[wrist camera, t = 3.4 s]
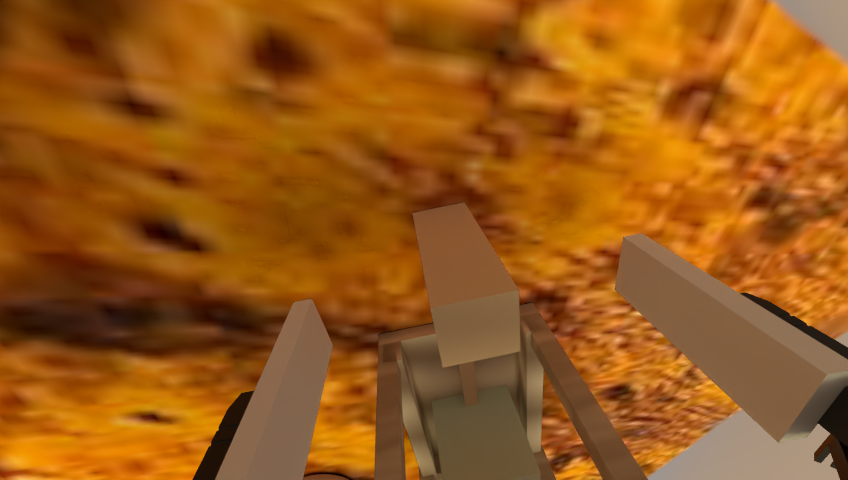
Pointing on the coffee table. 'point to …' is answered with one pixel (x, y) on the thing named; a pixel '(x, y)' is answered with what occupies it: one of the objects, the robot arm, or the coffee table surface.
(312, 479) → the coffee cup
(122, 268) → the coffee table surface
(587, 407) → the frame
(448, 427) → the tethered block
